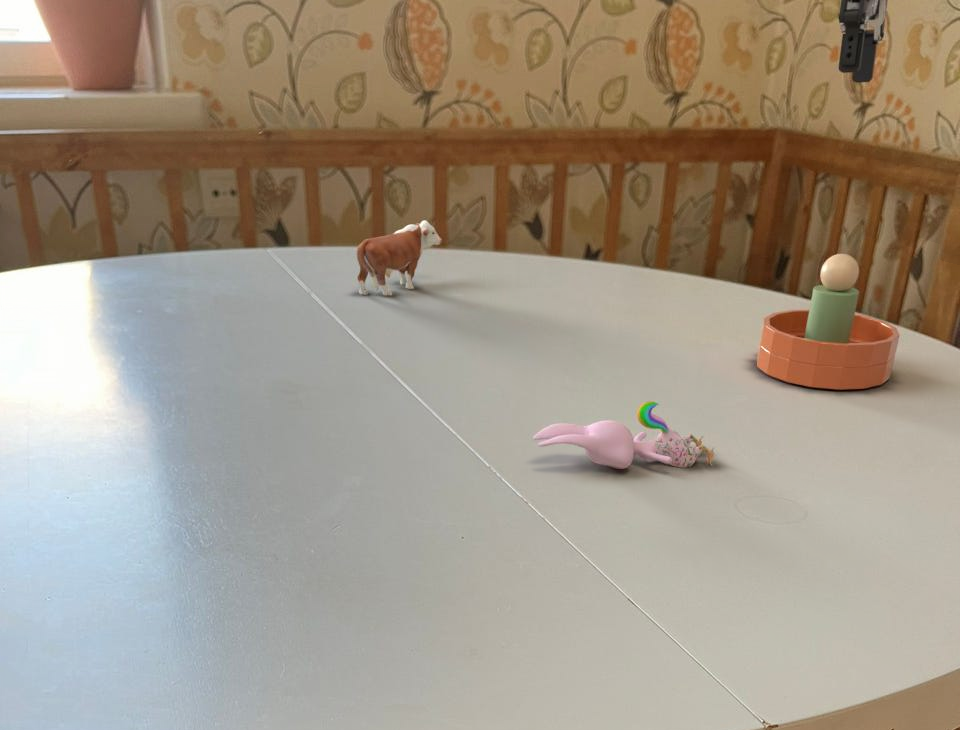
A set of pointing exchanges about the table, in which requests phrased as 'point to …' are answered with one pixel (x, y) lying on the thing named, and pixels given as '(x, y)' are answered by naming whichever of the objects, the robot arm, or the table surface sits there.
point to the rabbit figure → (627, 441)
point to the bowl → (827, 353)
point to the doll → (834, 301)
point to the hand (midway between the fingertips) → (855, 77)
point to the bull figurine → (394, 255)
